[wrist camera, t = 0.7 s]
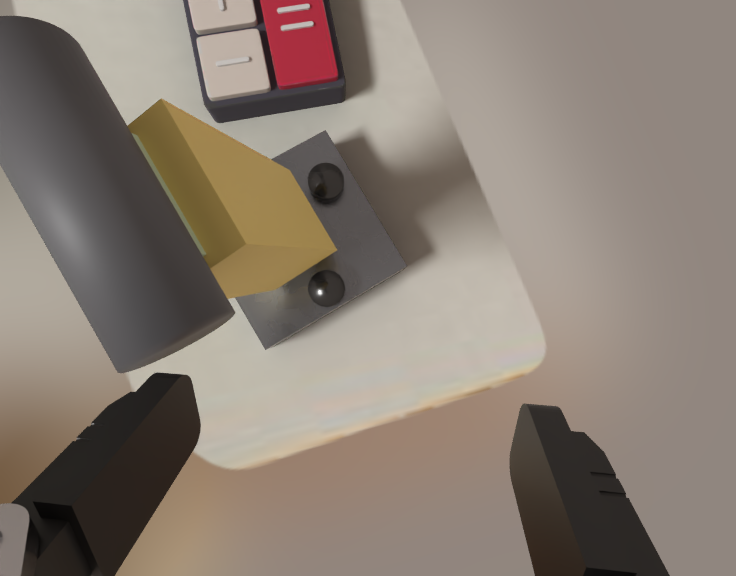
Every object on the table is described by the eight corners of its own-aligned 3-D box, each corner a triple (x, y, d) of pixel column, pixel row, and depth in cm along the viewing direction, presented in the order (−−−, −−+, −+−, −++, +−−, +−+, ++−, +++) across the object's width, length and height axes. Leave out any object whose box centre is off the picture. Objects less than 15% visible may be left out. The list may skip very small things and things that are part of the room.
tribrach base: (197, 217, 32) (175, 202, 28) (326, 146, 34) (324, 122, 29) (272, 346, 32) (262, 351, 28) (401, 270, 33) (409, 263, 29)
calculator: (201, 104, 30) (161, -92, 30) (218, 129, 34) (183, -43, 34) (347, 80, 31) (307, -111, 31) (345, 107, 35) (311, -61, 35)
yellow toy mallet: (230, 191, 29) (-102, 90, 11) (286, 151, 28) (15, -27, 10) (301, 311, 29) (70, 398, 11) (359, 275, 28) (209, 307, 10)
